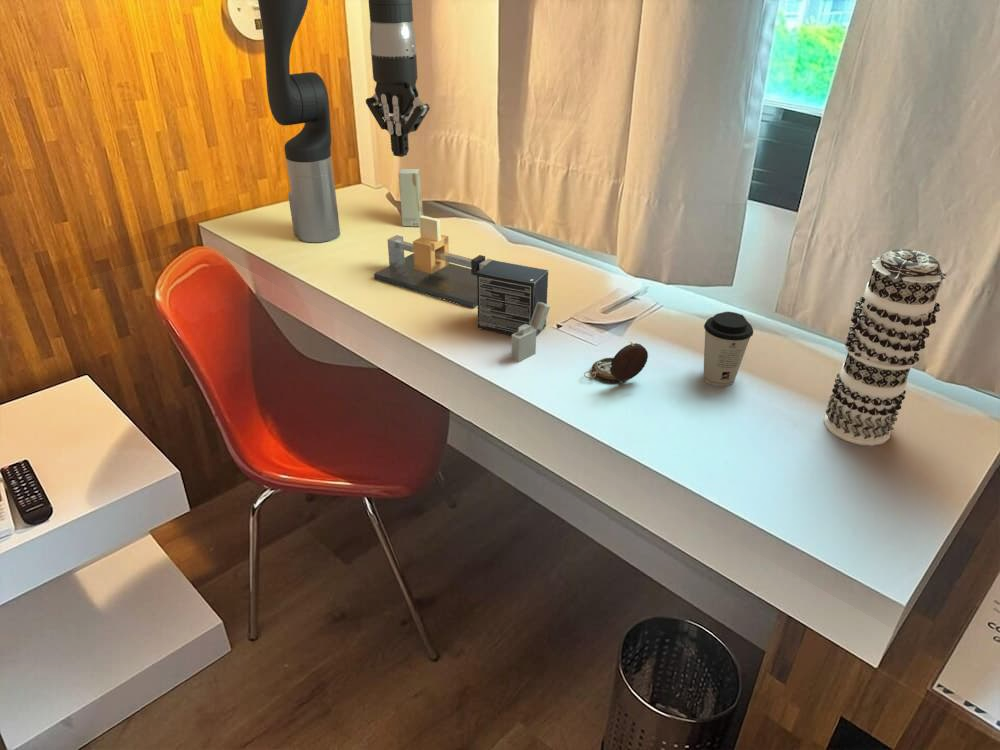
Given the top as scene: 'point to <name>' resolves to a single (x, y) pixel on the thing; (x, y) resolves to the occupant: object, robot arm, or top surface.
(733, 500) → the top surface
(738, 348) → the coffee cup
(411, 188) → the skincare box
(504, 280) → the small box
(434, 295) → the linear slide rail
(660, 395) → the top surface
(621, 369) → the compass
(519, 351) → the lighter
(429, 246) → the orange slider carriage
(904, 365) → the decorative candle
